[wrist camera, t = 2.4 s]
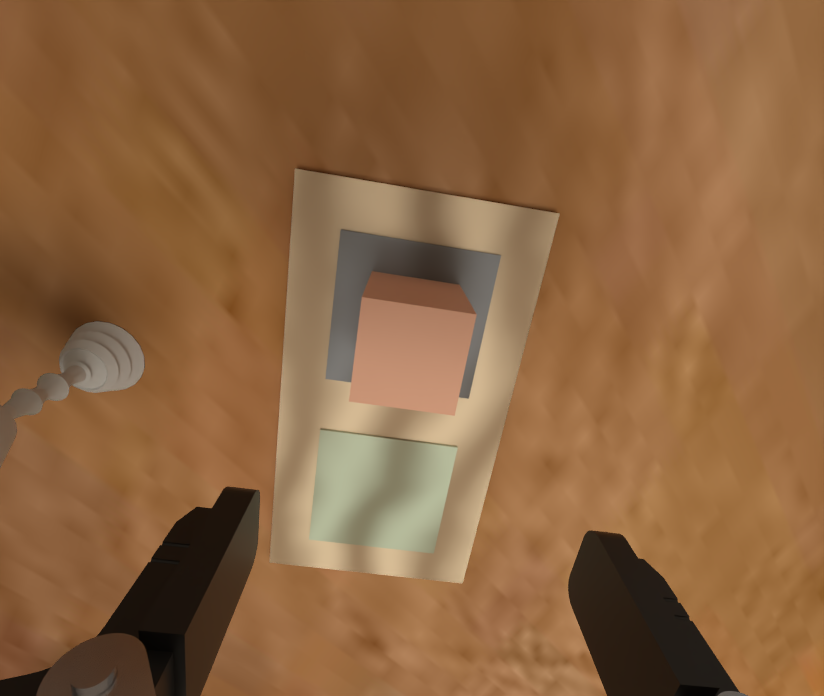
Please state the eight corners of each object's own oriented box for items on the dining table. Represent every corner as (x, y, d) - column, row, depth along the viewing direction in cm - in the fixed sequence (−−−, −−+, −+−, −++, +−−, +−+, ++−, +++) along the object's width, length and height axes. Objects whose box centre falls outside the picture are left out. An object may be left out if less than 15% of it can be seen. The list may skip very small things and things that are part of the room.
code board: (271, 556, 36) (268, 564, 35) (297, 168, 26) (294, 168, 25) (461, 577, 37) (462, 585, 37) (556, 213, 27) (560, 213, 26)
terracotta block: (361, 353, 29) (348, 401, 23) (371, 271, 27) (361, 296, 21) (443, 365, 30) (454, 415, 23) (459, 284, 28) (476, 314, 21)
